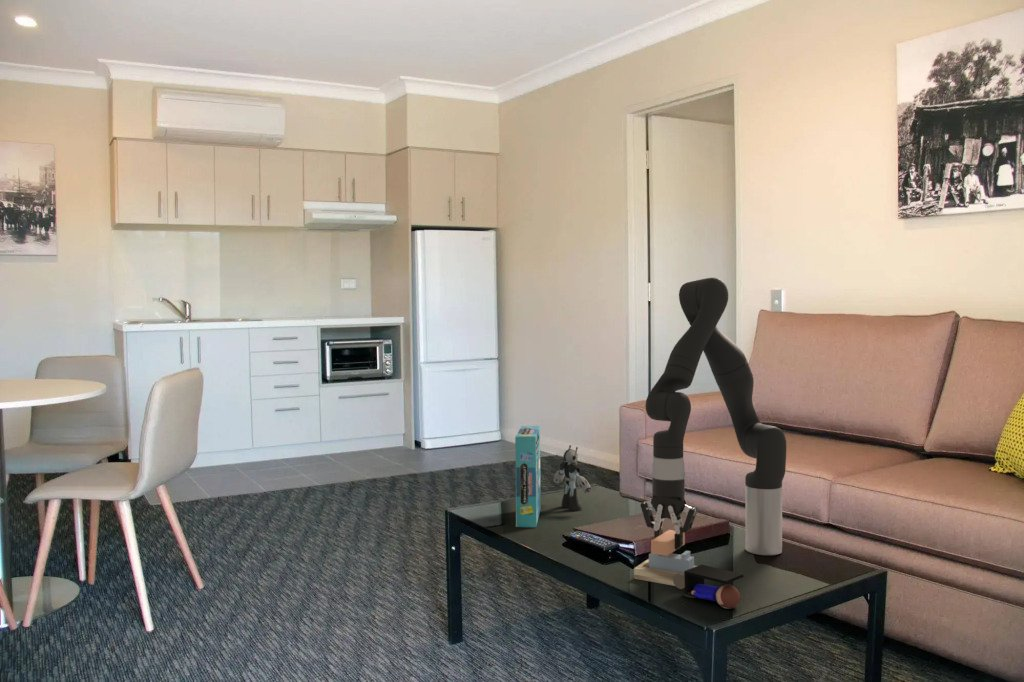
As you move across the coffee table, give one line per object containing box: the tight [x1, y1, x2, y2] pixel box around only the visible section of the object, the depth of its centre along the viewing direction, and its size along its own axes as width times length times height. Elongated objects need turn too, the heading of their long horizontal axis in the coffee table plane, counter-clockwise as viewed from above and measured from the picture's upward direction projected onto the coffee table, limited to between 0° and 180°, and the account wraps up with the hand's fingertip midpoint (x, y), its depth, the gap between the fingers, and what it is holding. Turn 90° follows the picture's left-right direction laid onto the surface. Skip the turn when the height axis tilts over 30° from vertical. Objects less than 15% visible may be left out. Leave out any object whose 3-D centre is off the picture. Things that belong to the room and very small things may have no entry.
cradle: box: [633, 558, 698, 587], centre depth 200 cm, size 9×14×2 cm, turn 57°
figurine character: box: [673, 564, 744, 610], centre depth 184 cm, size 7×8×15 cm
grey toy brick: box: [648, 550, 695, 573], centre depth 199 cm, size 3×10×6 cm, turn 58°
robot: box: [552, 444, 592, 512], centre depth 269 cm, size 20×5×20 cm, turn 29°
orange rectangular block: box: [650, 529, 686, 556], centre depth 199 cm, size 11×4×3 cm, turn 147°
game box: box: [514, 425, 542, 528], centre depth 256 cm, size 20×6×27 cm, turn 175°
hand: (668, 546), depth 199 cm, fingers closed on orange rectangular block, 4 cm apart
